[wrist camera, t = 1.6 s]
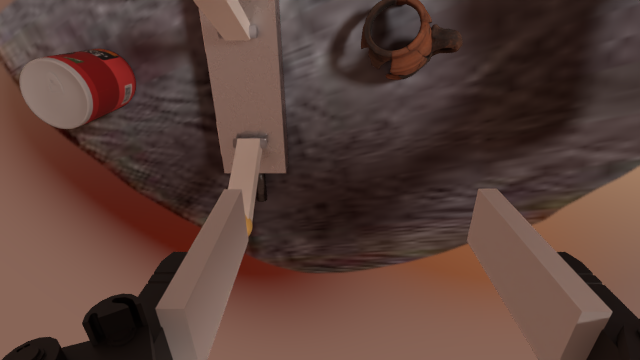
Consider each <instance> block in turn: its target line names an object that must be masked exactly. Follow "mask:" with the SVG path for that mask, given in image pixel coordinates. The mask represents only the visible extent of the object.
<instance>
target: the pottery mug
mask: <svg viewBox="0 0 640 360" xmlns="http://www.w3.org/2000/svg"><path fill="white" fill-rule="evenodd" d="M393 4H397V5H404V4H407V5H409V6H411V7H413V8H414V9H415V10H416V11H417V12H418V14H419V16H420V21H421V27H420V30H419V33H418V35H417V36H416V38H415V39H414V40H413V41H412V42H411V43H410V44H409V45H407V46H406V47H404V48H402V49H399V50H393V51H388V50H384V49H381V48H380V47H378V46H377V45H376V44H375V43H374V41H373V40H372V36H371V27H372V24H373V21H374V19H375V18H376V16H377V15H378V14H379V13H380V12H381V11H382V10H383V9H385V8H386V7H388V6H391V5H393ZM431 22H432V19H431V17H430V15H429V14H428V12H427V11H426V9H425V7H424V6H423V4H422V3H421V2H420V1H419V0H382V1H380V2H378V3H377V4H376V5H375V6H374V7H373V8H372V10H371V11H370V14H369V15H368V16H367V18H366V21H365V24H364V27H363V32H362V39H361V49H363V48H369V58H370V59H371V64H372V65H373V66H374V67H375V68H377V69H379V68H380V66H381V65H383V64H384V63H385V62H387V61H389V60H392V61H391V69H390V72H391V73H392V74H393V75H392V74H387V75H386V78H389V79H393V80H399V79H406V78H408V77H410V76H412V75H414V74H415V73H416V72H417V71H418V70H419V69H421V68H422V67H423V66H424V65H425V64H426V63H427V62H428V61H430V58H431V57H432V56H433V55H435V54H438V53H452V52H456V51H458V50H459V48H460V47H461V46H462V37H461V35H460V33H459V32H458V31H456V30H451V29H443V28H440V27H439V26H438V25H437V24H434V25H433V26H432V28H431V27H430V26H429V23H431Z"/></svg>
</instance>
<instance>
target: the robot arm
mask: <svg viewBox="0 0 640 360" xmlns="http://www.w3.org/2000/svg"><path fill="white" fill-rule="evenodd" d="M467 242H468V244H469V245H470V247H471V249H472V250H473V252H474V253H475V255H476V256H477V259H478V260H479V262H480V263H481V265H482V267H483V268H484V270H485V272H486V274H487V275H488V277H489V278H490V280H491V282H492V283H493V285H494V287H495V288H496V290H497V292H498V293H499V295H500V297H501V298H502V300H503V302H504V303H505V305H506V307H507V308H508V310H509V312H510V313H511V315H512V316H513V318H514V320H515V322H516V323H517V325H518V326H519V328H520V330H521V331H522V333H523V335H524V337H525V338H526V340H527V342H528V343H529V345H530V346H531V348H532V350H533V351H534V353H535V355H536V356H537V358H538V360H640V319H638V318H637V317H636V316H635V315H634V314H633V313H632V312H631V311H630V310H629V309H628V308H627V307H626V306H625V305H624V304H623V303H622V302H621V301H620V300H619V299H618V298H617V297H616V296H615V295H614V294H613V293H612V292H611V291H610V290H609V289H608V288H607V287H606V286H605V285H602V282H601V281H600V280H599V279H598V278H597V277H596V276H594V275H593V274H592V272H591V271H590V270H589V269H588V268H587V267H586V266H585V265H584V264H583V263H582V262H580V261H579V260H577V259H576V258H574V257H573V256H571V255H569V254H568V253H566V252H556V251H555V250H554V249H553V248H552V247H551V246H550V245H549V244H548V243H547V242H546V241H545V240H544V239H543V238H542V237H541V235H540V234H539V233H538V232H537V231H536V230H535V229H534V228H533V227H532V226H531V225H530V224H529V223H528V222H527V220H526V219H525V218H524V217H523V216H522V215H521V214H520V213H519V212H518V211H517V210H516V209H515V208H514V207H513V206H512V205H511V204H510V202H509V201H508V200H507V199H506V198H505V197H504V196H503V195H502V194H501V193H500V192H499V191H498V190H497V189H478V194H477V198H476V203H475V207H474V212H473V216H472V221H471V225H470V230H469V234H468V239H467ZM247 243H248V233H247V226H246V218H245V211H244V203H243V196H242V189H224V191H223V192H222V194H221V196H220V198H219V199H218V201H217V203H216V204H215V206H214V208H213V210H212V211H211V213H210V215H209V217H208V218H207V220H206V222H205V224H204V225H203V227H202V229H201V230H200V232H199V234H198V236H197V237H196V239H195V241H194V243H193V244H192V246H191V248H190V250H189V251H188V252H173V253H171V254H170V255H169V256H168V257H166V258H165V259H164V260H163V261H161V263H160V265H159V266H158V267H157V269H156V270H155V272H154V275H152V276H151V278H150V280H149V281H148V284H146V286H145V287H144V289H143V290H142V292H141V293H140V295H139V296H138V297H136V296H134V295H132V294H119V295H115V296H111V297H109V298H107V299H105V300H102V301H101V302H99V303H98V304H97V305H95V306H94V307H92V308H91V309H90V310H89V312H88V313H87V314H86V315H85V317H84V320H83V322H82V324H83V327H84V329H85V331H86V333H87V335H88V337H89V340H90V341H87V342H83V343H79V344H75V345H71V346H67V347H63V348H61V346H60V345H59V343H58V341H57V339H54V338H51V337H43V338H37V339H34V340H31V341H28V342H26V343H24V344H23V345H20V346H19V347H17V348H15V349H14V350H13V351H11V352H10V353H9V354H8V355H6V356H5V357H4V358H3V359H2V360H208V357H209V354H210V351H211V348H212V345H213V342H214V339H215V337H216V334H217V331H218V328H219V325H220V322H221V319H222V316H223V313H224V310H225V307H226V305H227V302H228V299H229V296H230V293H231V290H232V287H233V284H234V281H235V278H236V275H237V273H238V270H239V267H240V264H241V261H242V258H243V255H244V252H245V249H246V246H247Z"/></svg>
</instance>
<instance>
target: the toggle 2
mask: <svg viewBox="0 0 640 360" xmlns="http://www.w3.org/2000/svg"><path fill="white" fill-rule="evenodd" d="M233 148H234V149H236V150H235V155H234V160H233V166H232V171H231V176H230V181H229V187H228V189H242V196H243V203H244V211H245V218H246V226H247V233H248V236H249V235H250V233H251V231H252V220H253V213H254V205H255V198H256V190H257V183H258V176H259V168H260V161H261V154H262V148H267V139H266V138H234V139H233Z"/></svg>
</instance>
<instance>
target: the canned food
mask: <svg viewBox="0 0 640 360" xmlns="http://www.w3.org/2000/svg"><path fill="white" fill-rule="evenodd" d="M19 82H20V89H21V93H22V96H23V98H24V100H25V102H26V104H27V105H28V107H29V108H30V109H31V110H32V111H33V113H35V115H36V116H37V117H39V118H40V119H41V120H43V121H44V122H46V123H47V124H49V125H51V126H54V127H57V128H61V129H73V128H76V127H79V126H82V125H84V124H87V123H89V122H91V121H93V120H95V119H97V118H99V117H101V116H103V115H105V114H108V113H110V112H112V111H114V110H116V109H118V108H120V107H122V106H124V105H126V104H127V103H128V102H129V101H130V100H131V99H132V97H133V95H134V94H135V90H136V80H135V76H134V73H133V71H132V69H131V67H130V66H129V65H128V63H127V62H126V61H125V60H124V59H123V58H122V57H120V56H119V55H117V54H116V53H114V52H111V51H108V50H105V49H92V50H85V51H79V52H73V53H67V54H60V55H54V56H48V57H43V58H38V59H36V60H33V61H30V62H29V63H28V64H26V65H25V67H24V68H23V69H22V72H21V74H20V81H19Z"/></svg>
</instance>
